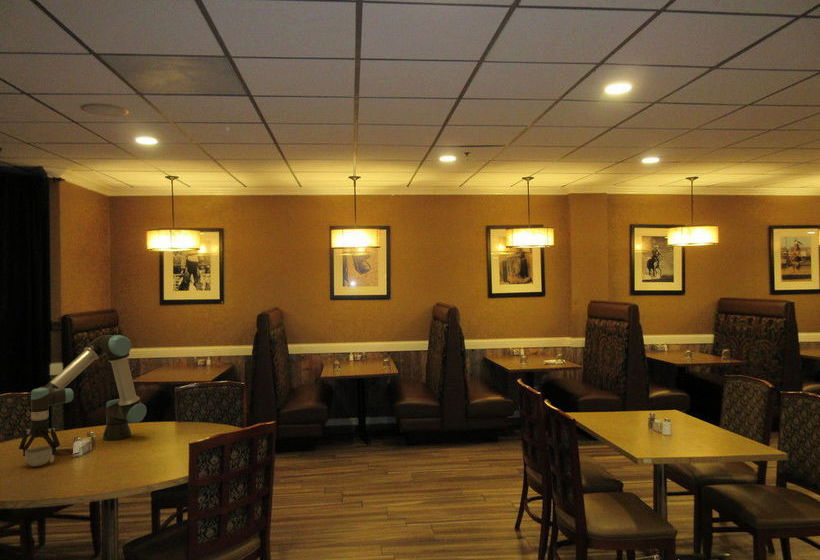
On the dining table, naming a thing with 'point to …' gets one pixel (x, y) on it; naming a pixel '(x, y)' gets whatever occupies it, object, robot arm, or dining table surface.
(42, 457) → the teacup
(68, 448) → the stop bar
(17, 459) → the dining table surface
